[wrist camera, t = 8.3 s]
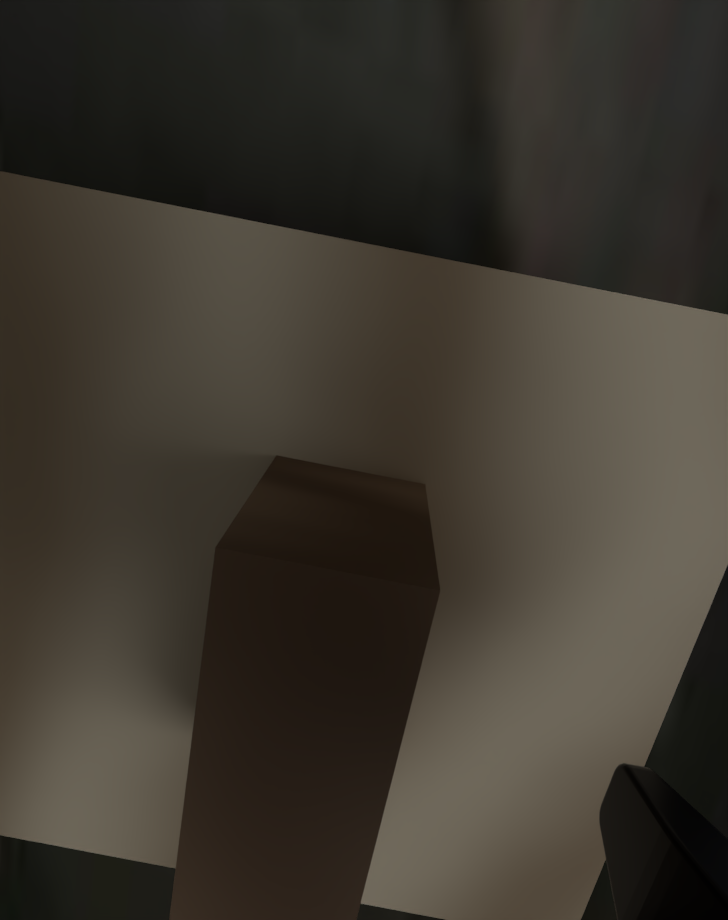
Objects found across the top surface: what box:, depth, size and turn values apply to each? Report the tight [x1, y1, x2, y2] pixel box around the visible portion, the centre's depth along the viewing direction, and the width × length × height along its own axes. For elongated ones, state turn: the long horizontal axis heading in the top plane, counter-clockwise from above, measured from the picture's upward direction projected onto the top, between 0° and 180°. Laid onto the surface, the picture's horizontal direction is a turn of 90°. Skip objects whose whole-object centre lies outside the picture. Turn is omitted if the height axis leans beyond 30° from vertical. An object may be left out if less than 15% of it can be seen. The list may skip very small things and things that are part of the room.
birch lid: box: [0, 171, 728, 920], centre depth 10 cm, size 13×13×4 cm
